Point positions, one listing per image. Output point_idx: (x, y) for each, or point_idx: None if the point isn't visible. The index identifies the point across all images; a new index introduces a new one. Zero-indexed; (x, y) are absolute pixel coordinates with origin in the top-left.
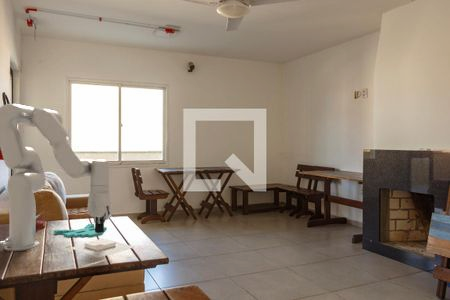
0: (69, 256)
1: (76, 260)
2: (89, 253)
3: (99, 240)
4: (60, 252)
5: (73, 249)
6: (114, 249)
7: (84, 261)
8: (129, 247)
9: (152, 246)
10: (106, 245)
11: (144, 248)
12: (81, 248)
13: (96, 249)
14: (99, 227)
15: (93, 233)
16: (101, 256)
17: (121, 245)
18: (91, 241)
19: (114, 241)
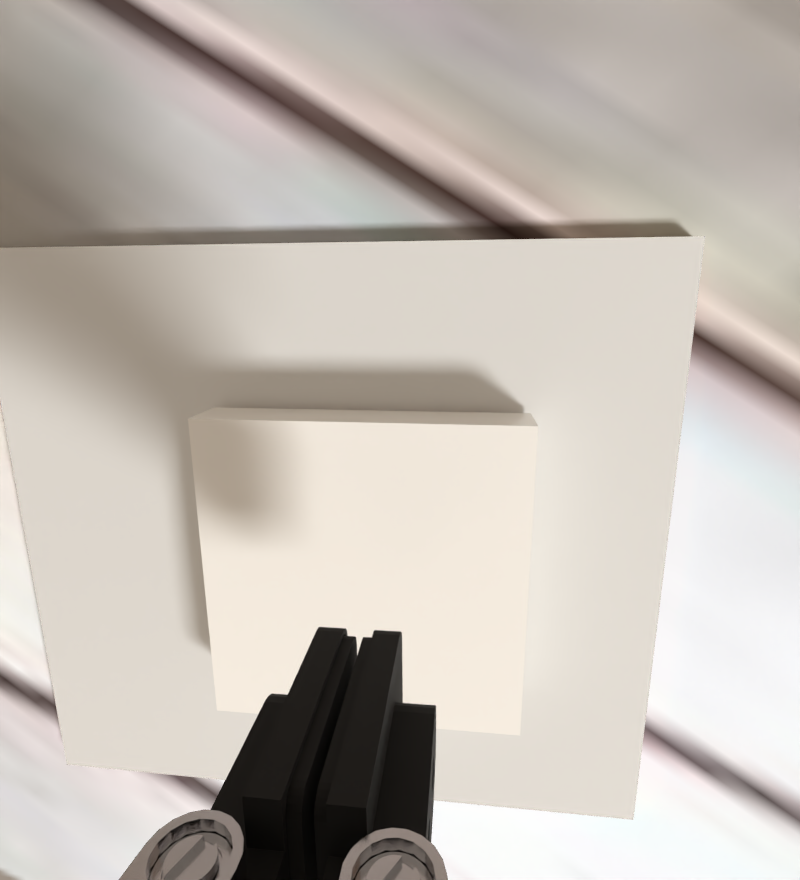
0: (366, 44)
1: (127, 14)
2: (207, 279)
3: (466, 644)
4: (668, 54)
5: (566, 239)
6: (137, 579)
7: (19, 71)
8: (90, 720)
9: (21, 873)
10: (208, 561)
11: (14, 793)
12: (509, 348)
13: (230, 411)
14: (263, 746)
15: None
16: None
17: (220, 725)
18: (520, 545)
19: (434, 794)
